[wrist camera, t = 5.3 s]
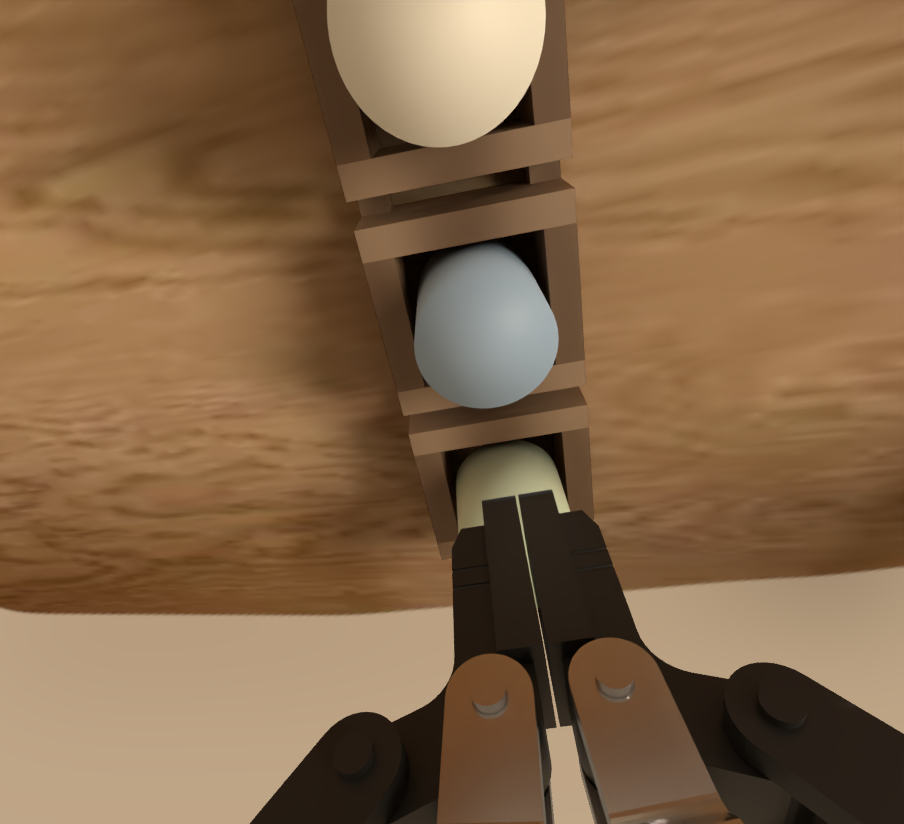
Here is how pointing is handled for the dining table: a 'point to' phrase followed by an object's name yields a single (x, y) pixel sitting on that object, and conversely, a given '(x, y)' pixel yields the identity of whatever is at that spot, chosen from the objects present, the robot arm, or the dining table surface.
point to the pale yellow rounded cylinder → (504, 480)
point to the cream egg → (437, 63)
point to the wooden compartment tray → (462, 222)
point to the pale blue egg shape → (482, 325)
